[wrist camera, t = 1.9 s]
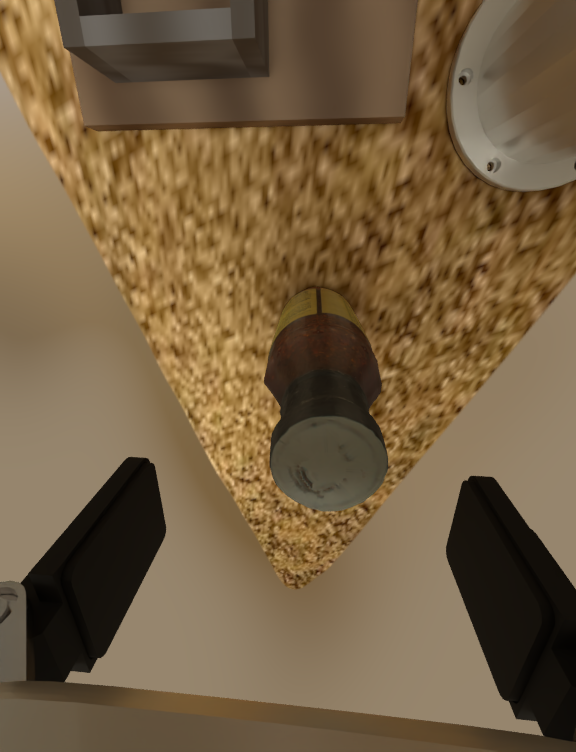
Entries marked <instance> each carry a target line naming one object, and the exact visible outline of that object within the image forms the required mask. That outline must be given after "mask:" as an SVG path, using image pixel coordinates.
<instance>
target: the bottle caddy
mask: <svg viewBox="0 0 576 752" xmlns="http://www.w3.org/2000/svg"><path fill="white" fill-rule="evenodd" d="M54 1H55V6H56V11H57V16H58V21H59V26H60V31H61V36H62V41H63V46H64V48H65V49H67V50H68V51H70V55H71V60H72V66H73V71H74V76H75V81H76V86H77V91H78V96H79V101H80V106H81V111H82V116H83V121H84V126H86V127H89V128H91V129H94V130H96V131H117V130H154V129H191V128H229V127H266V126H303V125H341V124H378V123H401V121H402V120H403V118H404V117H405V111H406V102H407V93H408V84H409V75H410V66H411V57H412V48H413V39H414V30H415V21H416V12H417V3H418V0H54Z"/></svg>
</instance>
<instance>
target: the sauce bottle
mask: <svg viewBox="0 0 576 752" xmlns="http://www.w3.org/2000/svg"><path fill="white" fill-rule="evenodd" d="M264 384H265V385H266V386H267V387H268V389H269V390H270V391H271V393H272V394H273V396H274V397H275V398H276V400H277V401H278V403H279V405H280V407H281V410H280V414H281V420H280V421H279V422H278V424H277V425H276V427H275V428H274V431H273V433H272V437H271V447H270V468H271V472H272V475H273V479H274V481H275V483H276V485H277V486H278V487H279V488H280V489H281V490H282V491H283V492H284V493H285V494H286V495H287V496H288V497H290V498H291V499H293V500H294V501H296V502H298V503H300V504H302V505H304V506H306V507H308V508H312V509H317V510H320V511H338V510H344V509H347V508H350V507H353V506H355V505H357V504H359V503H362V502H364V501H365V500H366V499H367V498H369V497H370V496H371V495H372V494H374V493H375V492H376V490H377V489H378V488H379V487H380V486H381V484H382V483H383V481H384V477H385V475H386V473H387V470H388V456H387V450H386V447H385V442H384V439H383V436H382V433H381V430H380V427H379V426H378V424H377V423H376V421H375V420H374V418H373V417H372V416H371V415H370V414H369V408H370V406H371V405H372V403H373V402H374V401H375V400H376V399H377V397H378V395H379V394H380V392H381V386H382V383H381V379H380V374H379V369H378V363H377V360H376V358H375V355H374V353H373V351H372V348H371V344H370V342H369V340H368V338H367V336H366V334H365V332H364V330H363V328H362V326H361V324H360V322H359V320H358V319H357V317H356V315H355V313H354V311H353V309H352V308H351V306H350V304H349V303H348V302H347V301H346V300H345V299H344V298H343V296H342V295H339V294H338V293H336V292H334V291H332V290H329V289H326V288H320V287H312V288H308V289H306V290H304V291H301V292H300V293H298V294H297V295H295V296H294V297H292V298H291V299H290V301H289V302H288V303H287V305H286V306H285V308H284V309H283V311H282V314H281V317H280V320H279V323H278V326H277V330H276V333H275V336H274V339H273V342H272V345H271V348H270V351H269V356H268V364H267V369H266V374H265V377H264Z"/></svg>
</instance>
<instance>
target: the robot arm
mask: <svg viewBox="0 0 576 752" xmlns="http://www.w3.org/2000/svg"><path fill="white" fill-rule="evenodd" d="M459 78H463V79H464V85H463V86H462V85H460V83H459ZM446 112H447V119H448V126H449V132H450V135H451V138H452V141H453V143H454V146H455V149H456V151H457V153H458V154H459V156H460V157H461V159H462V161H463V162H464V164H465V165H466V166H467V167H468V168H469V169H470V170H471V171H472V172H473V173H474V174H475V175H476V176H477V177H478V178H480V179H481V180H483V181H485V182H486V183H488V184H489V185H492V186H495V187H498V188H501V189H504V190H508V191H518V192H529V191H538V190H545V189H549V188H554V187H558V186H561V185H564V184H566V183H569V182H571V181H574V180H576V167H575V169H574V164H575V163H576V0H483V2H482V3H481V5H480V6H479V7H478V9H477V10H476V12H475V13H474V15H473V16H472V18H471V20H470V22H469V24H468V26H467V28H466V30H465V32H464V34H463V36H462V38H461V40H460V42H459V45H458V48H457V51H456V54H455V56H454V59H453V62H452V65H451V70H450V76H449V81H448V87H447V108H446ZM488 163H490V164H491V170H490V171H488V170H487V164H488ZM165 533H166V524H165V520H164V514H163V508H162V502H161V497H160V492H159V486H158V481H157V475H156V470H155V466H154V464H153V463H150V461H149V459H147V458H138V457H128V458H127V459H126V460H125V461H124V462H123V463H122V464H121V465H120V467H119V468H118V469H117V470H116V471H115V472H114V474H113V475H112V476H111V477H110V478H109V479H108V481H107V482H106V483H105V484H104V485H103V487H102V488H101V489H100V490H99V491H98V492H97V494H96V495H95V496H94V497H93V498H92V500H91V501H90V502H89V503H88V504H87V505H86V506H85V508H84V509H83V510H82V511H81V512H80V514H79V515H78V516H77V517H76V518H75V519H74V521H73V522H72V523H71V524H70V525H69V526H68V528H67V529H66V530H65V531H64V533H63V534H62V535H61V536H60V537H59V538H58V539H57V540H56V542H55V543H54V544H53V545H52V546H51V548H50V549H49V550H48V551H47V552H46V553H45V555H44V556H43V557H42V558H41V559H40V560H39V562H38V563H37V564H36V565H35V566H34V567H33V569H32V570H31V571H30V572H29V573H28V575H27V576H26V577H25V579H24V580H23V581H22V582H21V583H19V582H14V581H6V582H0V752H576V589H575V588H574V586H573V585H572V583H571V582H570V581H569V579H568V578H567V576H566V575H565V574H564V572H563V571H562V569H561V568H560V567H559V565H558V564H557V562H556V561H555V560H554V558H553V557H552V555H551V554H550V553H549V551H548V550H547V548H546V547H545V546H544V544H543V543H542V541H541V540H540V539H539V538H538V536H537V534H536V533H535V532H534V531H533V530H532V529H530V528H529V527H528V525H527V524H526V522H525V521H524V519H523V518H522V517H521V515H520V514H519V512H518V511H517V509H516V508H515V507H514V505H513V504H512V502H511V501H510V499H509V498H508V497H507V495H506V494H505V492H504V491H503V490H502V488H501V487H500V485H499V484H498V482H497V481H496V480H495V479H494V478H493V477H484V476H470V477H469V479H468V481H463V483H462V486H461V490H460V494H459V498H458V502H457V506H456V510H455V514H454V518H453V522H452V526H451V530H450V534H449V538H448V542H447V546H446V555H447V559H448V562H449V565H450V567H451V570H452V572H453V575H454V578H455V580H456V583H457V585H458V588H459V590H460V593H461V596H462V598H463V601H464V603H465V606H466V609H467V611H468V614H469V616H470V619H471V622H472V624H473V627H474V629H475V632H476V634H477V637H478V640H479V642H480V645H481V647H482V650H483V653H484V655H485V658H486V660H487V662H488V665H489V668H490V671H491V673H492V676H493V678H494V681H495V684H496V686H497V689H498V691H499V693H500V695H501V697H502V698H503V699H504V700H506V701H509V702H510V705H511V707H512V710H513V712H514V715H515V717H516V719H521V720H531V721H537V722H538V724H539V727H540V729H541V731H542V733H543V735H544V736H539V735H532V734H525V733H518V732H510V731H503V730H495V729H489V728H481V727H474V726H466V725H459V724H450V723H442V722H433V721H424V720H415V719H407V718H399V717H390V716H382V715H373V714H364V713H355V712H347V711H338V710H329V709H320V708H311V707H301V706H293V705H284V704H275V703H266V702H257V701H248V700H238V699H229V698H220V697H211V696H200V695H191V694H182V693H173V692H163V691H154V690H144V689H133V688H125V687H114V686H103V685H90V684H78V683H66V682H65V680H66V678H67V677H68V675H69V673H70V671H78V672H87V673H90V672H91V670H92V668H93V666H94V664H95V662H96V660H97V658H101V657H103V656H104V655H105V653H106V652H107V650H108V648H109V646H110V644H111V642H112V640H113V638H114V636H115V634H116V632H117V630H118V628H119V626H120V624H121V622H122V620H123V618H124V616H125V614H126V613H127V610H128V608H129V607H130V605H131V603H132V601H133V599H134V596H135V595H136V593H137V591H138V589H139V587H140V585H141V583H142V581H143V579H144V577H145V575H146V573H147V571H148V569H149V567H150V565H151V563H152V561H153V559H154V557H155V555H156V553H157V551H158V549H159V548H160V546H161V544H162V542H163V539H164V537H165Z"/></svg>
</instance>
